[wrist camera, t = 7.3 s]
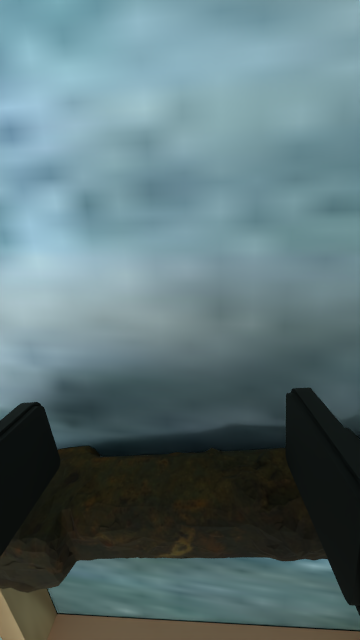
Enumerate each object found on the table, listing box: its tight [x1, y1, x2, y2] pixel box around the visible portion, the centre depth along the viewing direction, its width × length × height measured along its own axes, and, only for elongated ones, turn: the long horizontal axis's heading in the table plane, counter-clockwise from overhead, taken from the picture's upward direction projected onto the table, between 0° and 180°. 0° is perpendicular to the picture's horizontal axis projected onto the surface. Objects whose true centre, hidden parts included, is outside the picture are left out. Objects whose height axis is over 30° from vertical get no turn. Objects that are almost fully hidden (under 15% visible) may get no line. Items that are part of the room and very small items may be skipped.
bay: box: [0, 588, 57, 640], centre depth 12 cm, size 23×11×2 cm, turn 97°
